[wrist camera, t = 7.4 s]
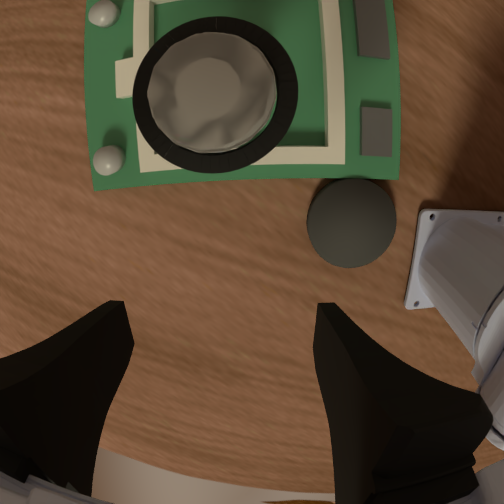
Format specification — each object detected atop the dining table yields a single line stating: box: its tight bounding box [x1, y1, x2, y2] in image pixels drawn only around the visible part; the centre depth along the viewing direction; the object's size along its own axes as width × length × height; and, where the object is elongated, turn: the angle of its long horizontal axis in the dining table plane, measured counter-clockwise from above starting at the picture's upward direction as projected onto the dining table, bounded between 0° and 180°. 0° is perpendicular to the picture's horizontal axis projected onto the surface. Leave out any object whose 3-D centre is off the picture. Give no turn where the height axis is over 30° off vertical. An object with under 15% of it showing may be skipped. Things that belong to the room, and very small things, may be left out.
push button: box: [132, 16, 299, 174], centre depth 12 cm, size 7×5×10 cm
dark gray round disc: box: [307, 178, 396, 268], centre depth 20 cm, size 6×6×1 cm
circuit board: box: [84, 0, 401, 191], centre depth 16 cm, size 20×14×2 cm
